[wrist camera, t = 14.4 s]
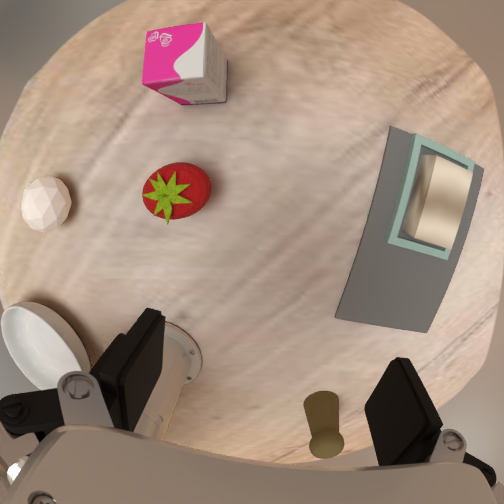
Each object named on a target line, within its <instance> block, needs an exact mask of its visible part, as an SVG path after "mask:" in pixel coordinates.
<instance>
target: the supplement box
mask: <svg viewBox="0 0 504 504" xmlns="http://www.w3.org/2000/svg"><path fill="white" fill-rule="evenodd" d="M227 64H228V61H227V59H226V57H225V55H224V54H223V52H222V50H221V48H220V46H219V45H218V43H217V41H216V39H215V37H214V36H213V34H212V32H211V30H210V29H209V27H208V25H207V23H205V22H204V23H196V24H188V25H181V26H175V27H168V28H163V29H157V30H152V31H148V32H147V35H146V44H145V56H144V65H143V76H142V84H143V85H145V86H147V87H149V88H151V89H153V90H155V91H157V92H158V93H160V94H162V95H164V96H166V97H168V98H170V99H172V100H174V101H175V102H177V103H179V104H181V105H193V104H210V103H226V91H227Z"/></svg>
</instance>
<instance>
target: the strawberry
mask: <svg viewBox="0 0 504 504" xmlns="http://www.w3.org/2000/svg"><path fill="white" fill-rule="evenodd" d="M210 193H211V183H210V180H209V177H208V176H207V174H206V173H205V172H204V171H203V170H202V169H201V168H199V167H197V166H196V165H193V164H190V163H172V164H169V165H166V166H164V167H162V168H160V169H158V170H157V171H156V172H154V173H153V174H152V175H151V176H150V177H149V178H148V180H147V181H146V183H145V185H144V188H143V194H142V196H143V201H144V204H145V206H146V207H147V209H148V210H149V211H150V212H151V213H152V214H154V216H157V217H160V218H164V219H166V222H167V224H168V223H169V219H180V218H185V217H188V216H190V215H193V214H195V213H196V212H198V211H199V210H200V209H201V208H202V207H203V206H204V205H205V204H206V202H207V201H208V199H209V196H210Z"/></svg>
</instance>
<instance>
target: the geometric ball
mask: <svg viewBox="0 0 504 504" xmlns="http://www.w3.org/2000/svg"><path fill="white" fill-rule="evenodd" d="M71 203H72V202H71V198H70V194H69V190H68V189H67V187H66V186H65V185H64V183H63V182H62V181H61V180H60V179H58V178H55V177H52V176H49V175H46V176H43V177H40V178H37V179H36V180H35V181H33V182H32V183H31V184H30V185H29V186H28V187H26V188H25V190H24V194H23V198H22V202H21V209H22V216H23V219H24V220H25V221H26V222H27V223H28V225H29V226H30V227H31V228H32V229H33V230H37V231H41V232H45V233H46V232H49V231H52V230H54V229H57V228H59V226H60V225H61V224H62V223H63V222H64V221H65V220H66V218H67V216H68V213H69V210H70V207H71Z"/></svg>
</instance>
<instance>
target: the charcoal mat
mask: <svg viewBox="0 0 504 504" xmlns="http://www.w3.org/2000/svg"><path fill="white" fill-rule="evenodd" d="M411 137H412V134H410V133H408V132H405V131H403V130H400V129H398V128H395V127H392V126H390V129H389V134H388V138H387V143H386V148H385V152H384V157H383V161H382V165H381V169H380V173H379V177H378V181H377V185H376V189H375V193H374V197H373V200H372V204H371V208H370V211H369V215H368V218H367V222H366V225H365V228H364V232H363V235H362V238H361V241H360V245H359V248H358V251H357V254H356V257H355V260H354V263H353V266H352V269H351V272H350V275H349V278H348V281H347V284H346V287H345V289H344V292H343V295H342V298H341V301H340V303H339V306H338V309H337V311H336V314H335V318H337V319H343V320H348V321H354V322H359V323H365V324H371V325H377V326H383V327H389V328H396V329H402V330H409V331H415V332H422V333H427V332H428V330H429V328H430V326H431V324H432V322H433V319H434V317H435V315H436V313H437V311H438V309H439V307H440V304H441V302H442V300H443V298H444V295H445V293H446V291H447V288H448V286H449V283H450V281H451V278H452V276H453V273H454V271H455V268H456V265H457V263H458V260H459V257H460V254H461V252H462V249H463V246H464V243H465V240H466V237H467V233H468V230H469V227H470V224H471V220H472V217H473V213H474V210H475V206H476V202H477V198H478V194H479V190H480V186H481V182H482V177H483V172H484V169H483V168H482V167H480V166H478V165H476V164H474V169H473V176H472V180H471V184H470V188H469V192H468V196H467V200H466V204H465V207H464V211H463V215H462V218H461V221H460V225H459V228H458V231H457V234H456V237H455V240H454V243H453V246H452V249H451V251H450V254H449V257H448V260H445V259H442V258H438V257H435V256H432V255H428V254H425V253H421V252H418V251H414V250H411V249H407V248H404V247H400V246H397V245H393V244H389V243H387V242H386V241H385V237H386V234H387V231H388V228H389V224H390V221H391V218H392V214H393V211H394V207H395V204H396V200H397V196H398V193H399V189H400V185H401V181H402V177H403V173H404V169H405V165H406V160H407V156H408V151H409V147H410V142H411ZM421 154H422V155H437V156H439V157H441V158H444V159H446V160H448V161H450V162H452V163H454V164H456V165H458V166H460V167H462V168H463V166H464V165H462V164H460V163H457V162H455V161H453V160H451V159H449V158H447V157H445V156H443V155H440V154H438V153H436V152H434V151H432V150H429V149H427V148H425V147H422V146H421V148H420V153H419V158H418V162H417V167H416V171H415V175H414V179H413V183H412V187H411V191H410V195H409V198H408V202H407V206H406V209H405V213H404V216H403V219H402V223H401V226H400V229H399V232H398V236H399V237H403V238H406V239H410V240H413V241H416V242H420V243H423V244H426V245H429V246H433V247H436V248H439V249H441V246H438V245H435V244H432V243H429V242H426V241H423V240H420V239H416V238H414V237H412V236H411V235H409V234H408V233H406V232H405V231H403V230H402V226H403V223H404V219H405V216H406V213H407V209H408V206H409V202H410V199H411V195H412V191H413V188H414V184H415V180H416V176H417V172H418V168H419V163H420V159H421Z"/></svg>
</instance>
